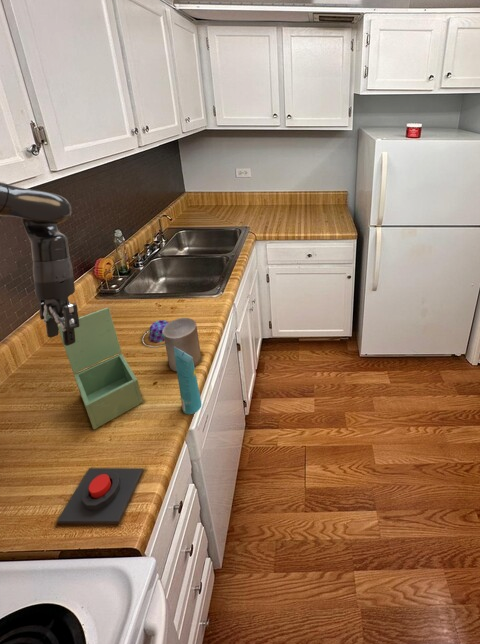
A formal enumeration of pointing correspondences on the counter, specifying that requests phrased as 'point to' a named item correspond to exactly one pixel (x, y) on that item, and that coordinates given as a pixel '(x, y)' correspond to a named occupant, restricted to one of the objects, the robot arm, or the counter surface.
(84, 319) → the lid
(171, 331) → the pillar candle
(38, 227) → the robot arm
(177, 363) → the tube
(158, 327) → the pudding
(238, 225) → the counter surface
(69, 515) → the button block
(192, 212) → the counter surface
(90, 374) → the breadbin
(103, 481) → the button
